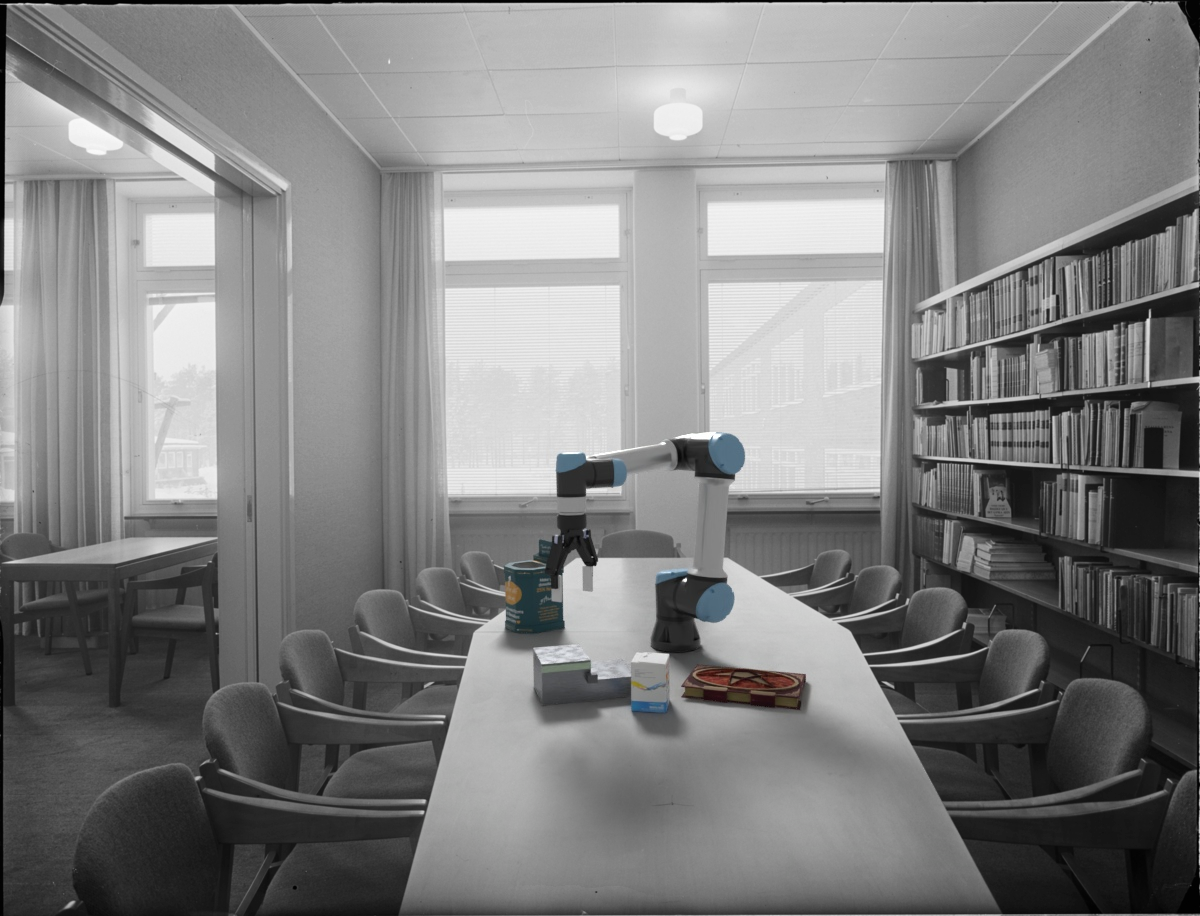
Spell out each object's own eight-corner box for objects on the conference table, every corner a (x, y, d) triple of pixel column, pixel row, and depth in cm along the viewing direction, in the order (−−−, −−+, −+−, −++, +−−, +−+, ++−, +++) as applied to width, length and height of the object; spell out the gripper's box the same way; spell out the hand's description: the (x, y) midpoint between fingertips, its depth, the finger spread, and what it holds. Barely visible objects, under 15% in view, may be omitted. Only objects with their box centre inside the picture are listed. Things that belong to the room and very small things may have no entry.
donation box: (564, 627, 248) (563, 544, 247) (521, 636, 239) (520, 549, 238) (540, 618, 262) (539, 538, 261) (499, 625, 253) (497, 543, 252)
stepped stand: (623, 677, 198) (623, 640, 198) (641, 698, 182) (640, 658, 182) (533, 686, 192) (533, 647, 192) (543, 708, 177) (543, 667, 176)
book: (805, 685, 193) (805, 666, 193) (799, 713, 173) (799, 691, 173) (697, 675, 202) (697, 657, 202) (680, 700, 182) (680, 680, 182)
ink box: (666, 713, 173) (666, 663, 172) (630, 711, 174) (629, 661, 174) (670, 700, 181) (670, 652, 181) (636, 698, 183) (635, 651, 182)
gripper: (587, 507, 202) (588, 585, 203) (529, 517, 181) (530, 604, 182) (610, 509, 198) (611, 588, 199) (554, 519, 177) (555, 607, 178)
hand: (572, 596), depth 190 cm, fingers open, 13 cm apart
